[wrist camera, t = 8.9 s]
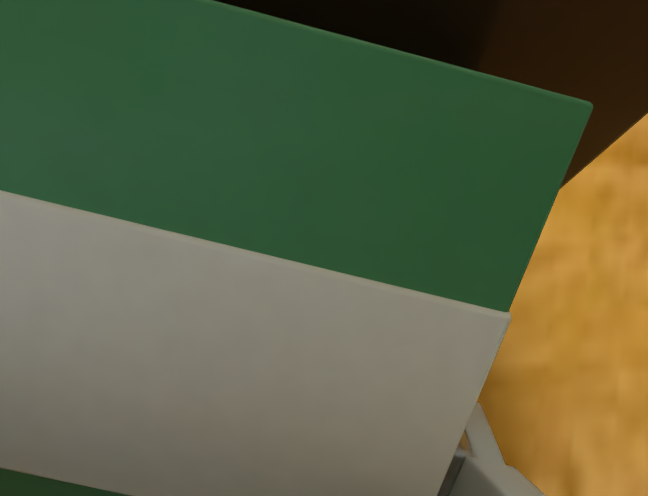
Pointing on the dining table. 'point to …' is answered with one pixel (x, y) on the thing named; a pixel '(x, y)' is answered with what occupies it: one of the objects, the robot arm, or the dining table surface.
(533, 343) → the dining table surface
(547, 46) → the bookend
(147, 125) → the packet
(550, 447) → the dining table surface
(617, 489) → the dining table surface
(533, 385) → the dining table surface
